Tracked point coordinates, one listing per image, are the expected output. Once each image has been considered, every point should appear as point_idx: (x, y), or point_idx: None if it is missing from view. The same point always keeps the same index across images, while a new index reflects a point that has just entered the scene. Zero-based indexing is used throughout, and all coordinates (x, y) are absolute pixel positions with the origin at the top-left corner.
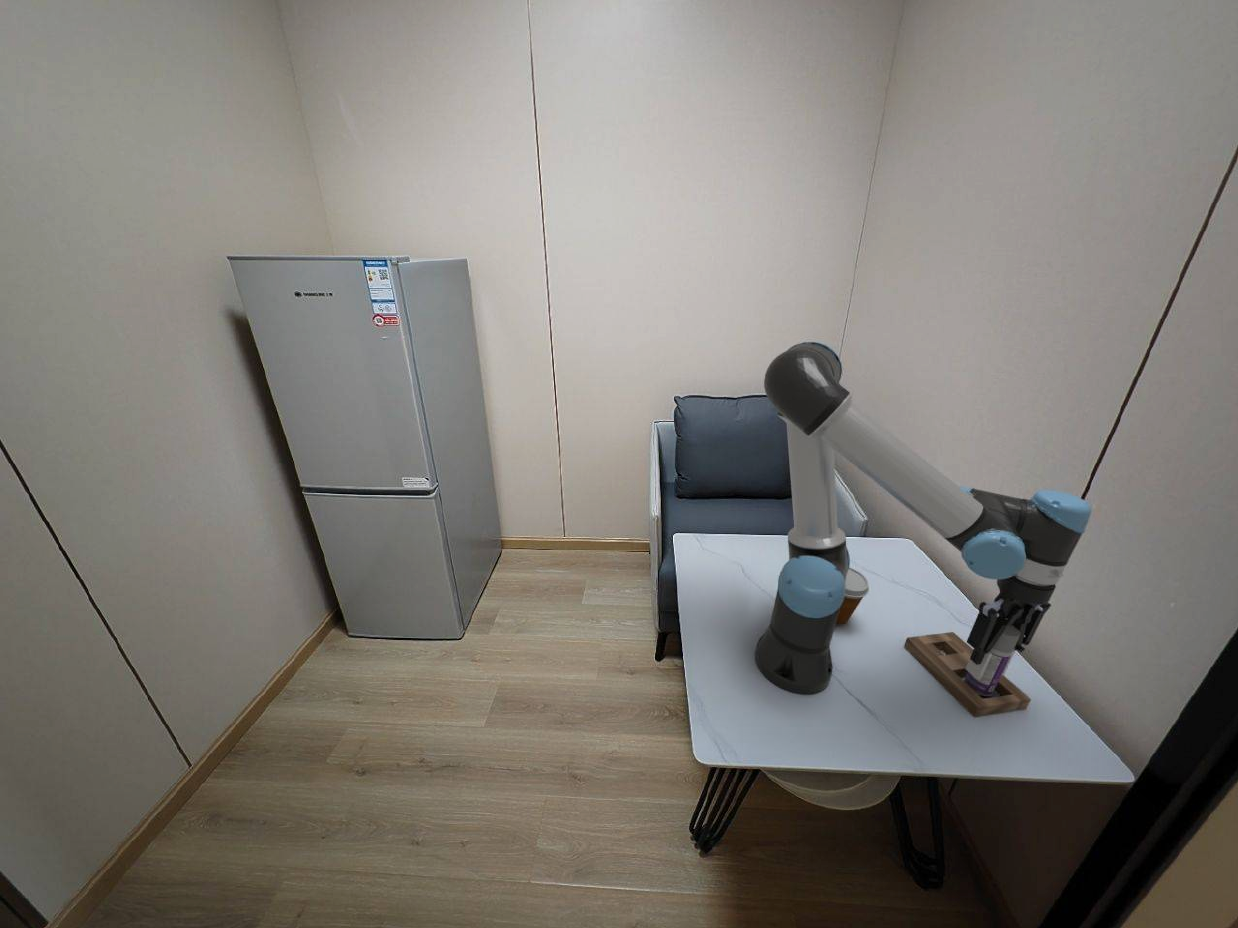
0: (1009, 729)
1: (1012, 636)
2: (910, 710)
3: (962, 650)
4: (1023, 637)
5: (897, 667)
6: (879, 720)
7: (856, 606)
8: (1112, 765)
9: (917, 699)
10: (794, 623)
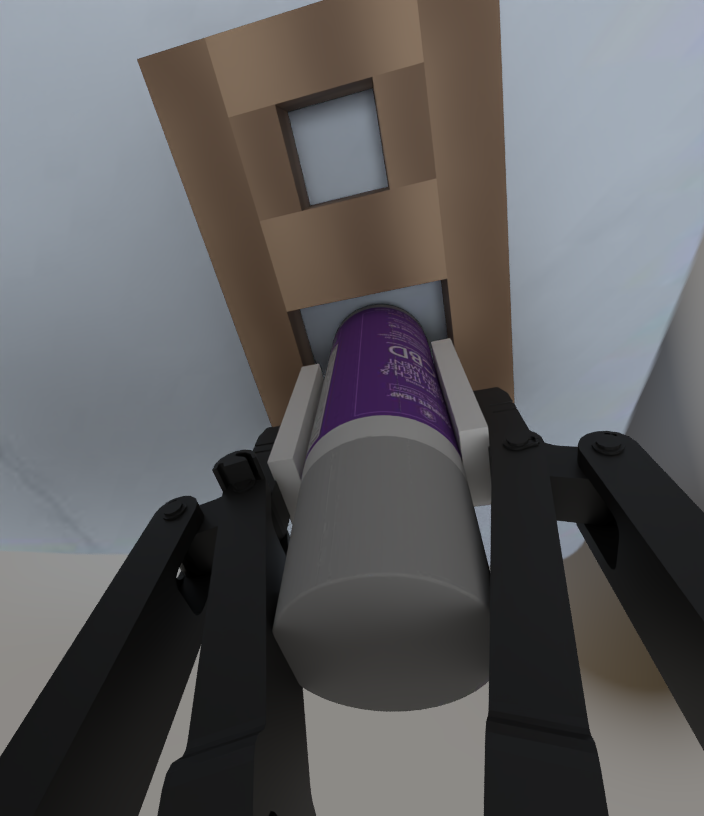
0: None
1: (370, 705)
2: (104, 428)
3: (428, 163)
4: (608, 515)
5: (100, 241)
6: (7, 459)
7: None
8: (570, 551)
9: (138, 390)
10: None
